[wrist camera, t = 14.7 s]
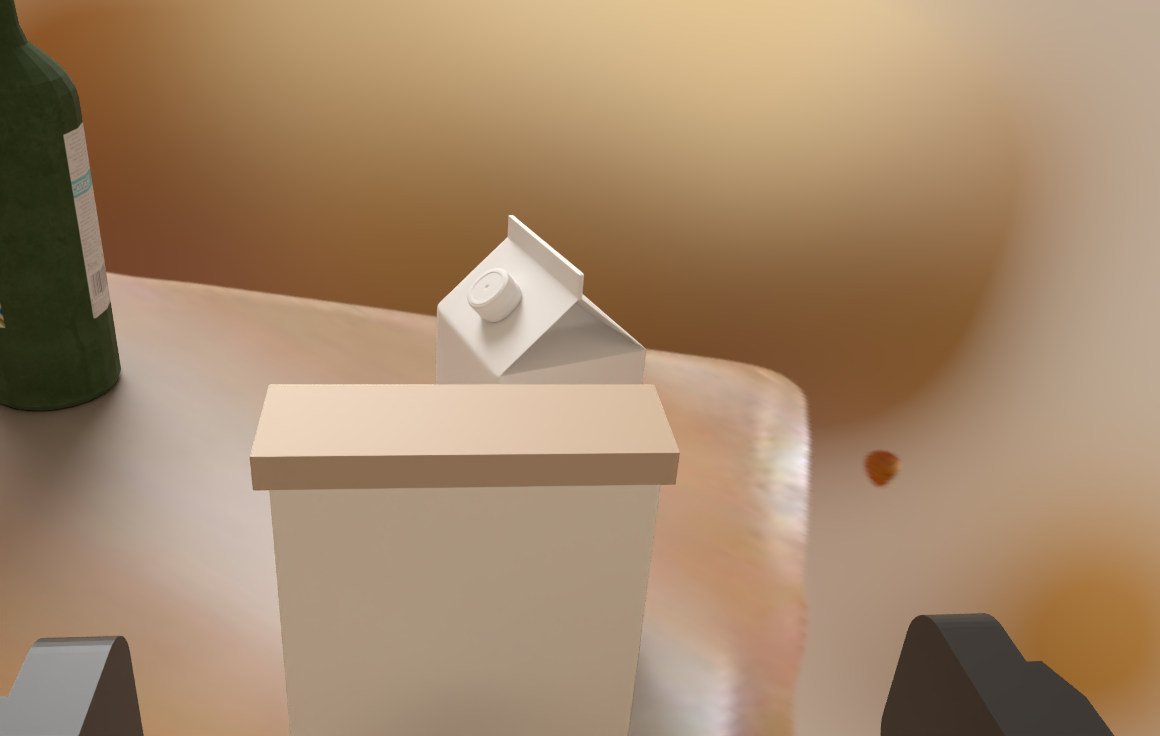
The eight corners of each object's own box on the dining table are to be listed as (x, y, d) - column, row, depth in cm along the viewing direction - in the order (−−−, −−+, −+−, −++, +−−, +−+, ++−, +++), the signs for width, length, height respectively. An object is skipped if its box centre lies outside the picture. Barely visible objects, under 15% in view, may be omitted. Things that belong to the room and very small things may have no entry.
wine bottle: (-26, 371, 69) (-142, -134, 55) (100, 343, 73) (23, -130, 59) (5, 425, 64) (-115, -118, 49) (138, 391, 68) (63, -115, 54)
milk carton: (555, 533, 58) (579, 207, 49) (617, 614, 53) (657, 264, 44) (433, 564, 55) (435, 222, 46) (486, 654, 50) (500, 286, 41)
